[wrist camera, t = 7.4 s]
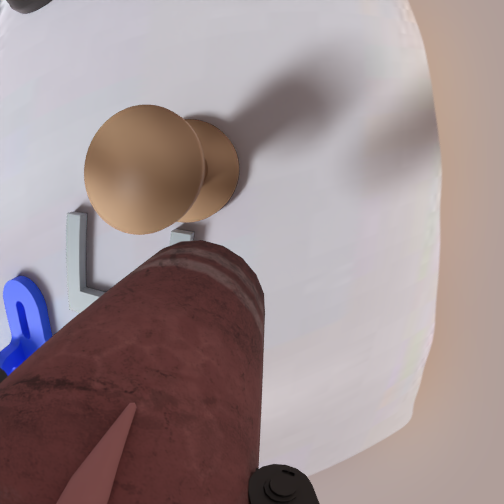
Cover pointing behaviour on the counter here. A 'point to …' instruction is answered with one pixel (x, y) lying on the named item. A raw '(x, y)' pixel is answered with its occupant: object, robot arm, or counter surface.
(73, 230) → the grey u-shaped frame
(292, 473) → the robot arm
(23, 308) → the bracket
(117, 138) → the bobbin
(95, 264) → the counter surface
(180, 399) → the can
